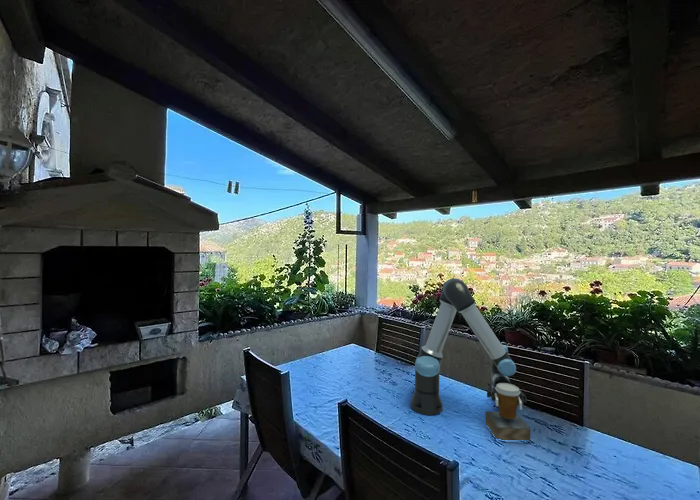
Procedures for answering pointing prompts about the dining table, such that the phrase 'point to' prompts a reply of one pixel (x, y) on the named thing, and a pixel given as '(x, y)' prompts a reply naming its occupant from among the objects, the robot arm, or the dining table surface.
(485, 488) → the dining table surface
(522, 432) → the block
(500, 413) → the disposable coffee cup
